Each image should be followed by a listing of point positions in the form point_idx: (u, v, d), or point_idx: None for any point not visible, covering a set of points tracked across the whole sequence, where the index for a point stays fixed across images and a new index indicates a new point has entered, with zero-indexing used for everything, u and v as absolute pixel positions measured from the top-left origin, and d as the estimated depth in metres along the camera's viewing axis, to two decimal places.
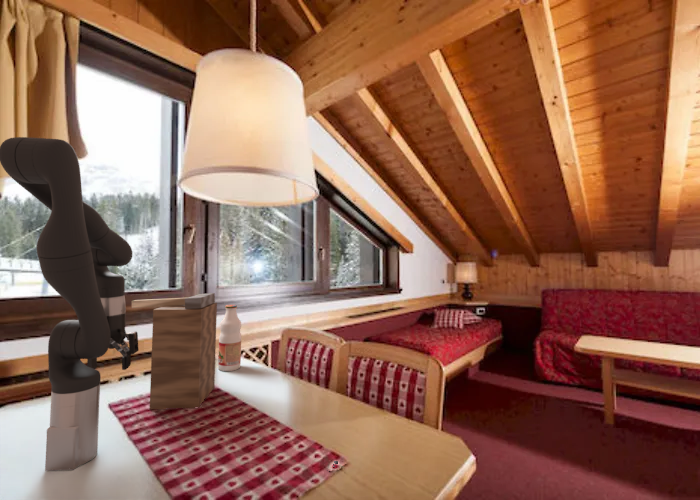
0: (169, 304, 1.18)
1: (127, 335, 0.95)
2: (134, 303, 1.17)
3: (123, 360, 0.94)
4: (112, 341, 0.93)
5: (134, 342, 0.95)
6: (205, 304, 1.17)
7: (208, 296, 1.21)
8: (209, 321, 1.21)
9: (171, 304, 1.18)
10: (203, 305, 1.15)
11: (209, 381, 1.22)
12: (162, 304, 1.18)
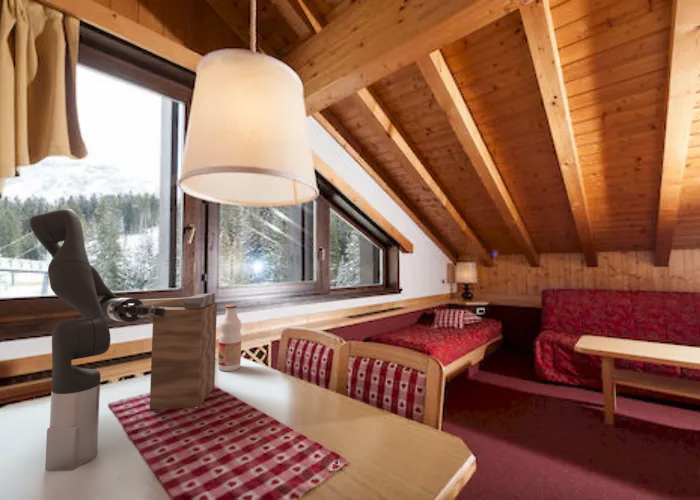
0: (169, 304, 1.18)
1: None
2: None
3: (159, 308, 1.03)
4: None
5: None
6: (204, 304, 1.17)
7: (208, 296, 1.21)
8: (209, 321, 1.21)
9: (171, 304, 1.18)
10: (203, 305, 1.15)
11: (209, 381, 1.22)
12: (162, 304, 1.18)
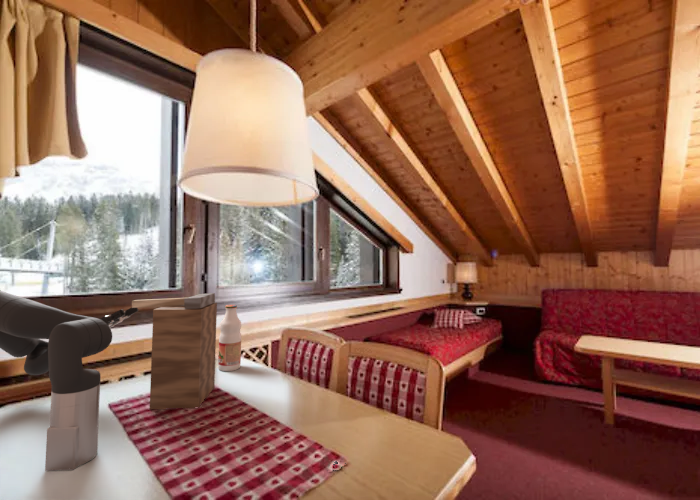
0: (169, 304, 1.18)
1: None
2: (134, 303, 1.17)
3: (128, 309, 1.21)
4: None
5: None
6: (204, 304, 1.17)
7: (208, 296, 1.21)
8: (209, 321, 1.21)
9: (171, 304, 1.18)
10: (203, 305, 1.15)
11: (209, 381, 1.22)
12: (162, 304, 1.18)
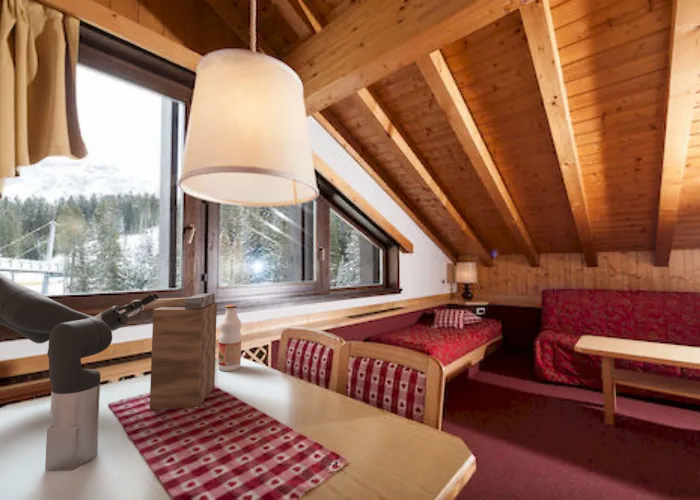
0: (169, 304, 1.18)
1: None
2: None
3: None
4: None
5: None
6: (205, 304, 1.17)
7: (208, 296, 1.21)
8: (209, 321, 1.21)
9: (171, 304, 1.18)
10: (203, 305, 1.15)
11: (209, 381, 1.22)
12: (162, 304, 1.17)
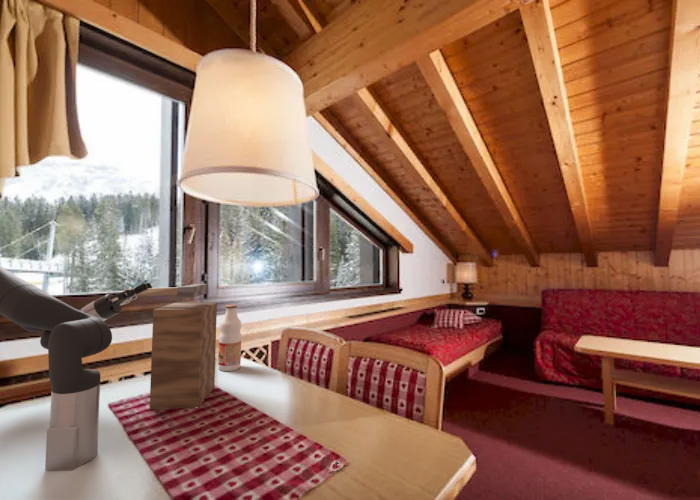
0: (162, 293, 1.18)
1: None
2: None
3: None
4: None
5: None
6: (198, 293, 1.17)
7: (201, 286, 1.21)
8: (209, 321, 1.21)
9: (164, 293, 1.18)
10: (196, 294, 1.15)
11: (209, 381, 1.22)
12: (155, 293, 1.17)
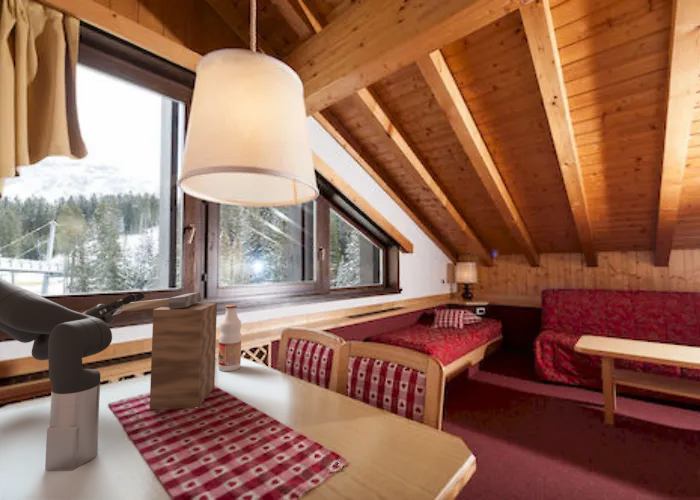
0: (154, 305, 1.17)
1: None
2: None
3: (134, 295, 1.21)
4: None
5: None
6: (190, 303, 1.17)
7: (193, 295, 1.20)
8: (209, 321, 1.21)
9: (156, 305, 1.17)
10: (188, 304, 1.15)
11: (209, 381, 1.22)
12: (147, 306, 1.17)
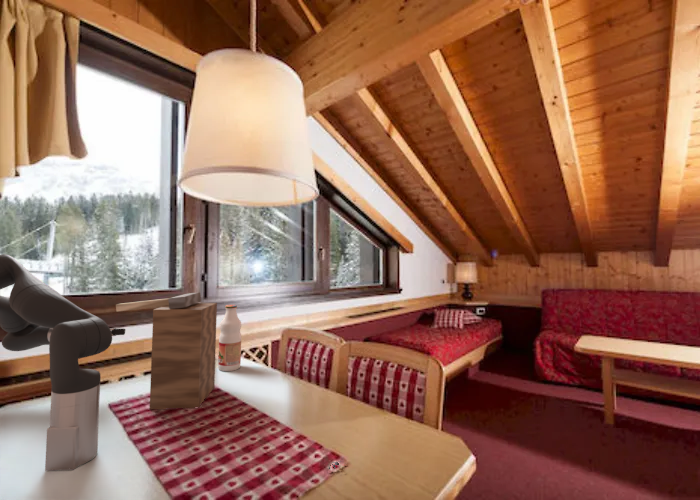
0: (154, 305, 1.17)
1: None
2: (118, 307, 1.16)
3: None
4: None
5: None
6: (190, 303, 1.17)
7: (193, 295, 1.20)
8: (209, 321, 1.21)
9: (156, 305, 1.17)
10: (188, 304, 1.15)
11: (209, 381, 1.22)
12: (147, 306, 1.17)
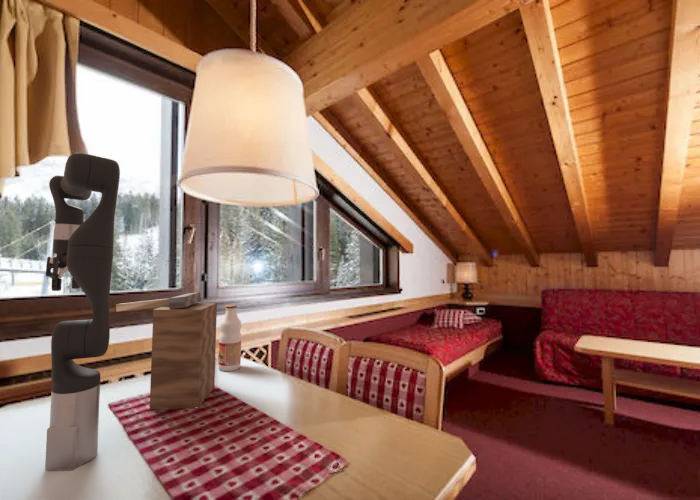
0: (154, 305, 1.17)
1: None
2: (118, 307, 1.16)
3: None
4: None
5: None
6: (190, 303, 1.17)
7: (193, 295, 1.20)
8: (209, 321, 1.21)
9: (156, 305, 1.17)
10: (188, 304, 1.15)
11: (209, 381, 1.22)
12: (147, 306, 1.17)
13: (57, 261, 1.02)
